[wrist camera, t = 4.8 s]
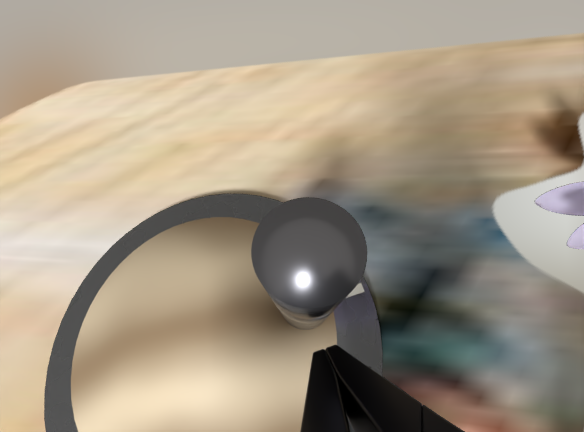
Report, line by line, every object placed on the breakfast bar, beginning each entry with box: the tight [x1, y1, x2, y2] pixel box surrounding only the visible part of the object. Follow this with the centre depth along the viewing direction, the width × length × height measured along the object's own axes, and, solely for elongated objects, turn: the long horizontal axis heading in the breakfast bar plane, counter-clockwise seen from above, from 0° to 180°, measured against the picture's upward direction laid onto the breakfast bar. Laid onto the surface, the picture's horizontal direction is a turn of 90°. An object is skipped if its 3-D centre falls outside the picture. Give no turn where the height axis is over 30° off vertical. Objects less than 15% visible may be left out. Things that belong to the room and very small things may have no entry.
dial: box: [71, 198, 367, 432], centre depth 12 cm, size 15×15×12 cm
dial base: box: [44, 194, 383, 432], centre depth 18 cm, size 21×21×1 cm
